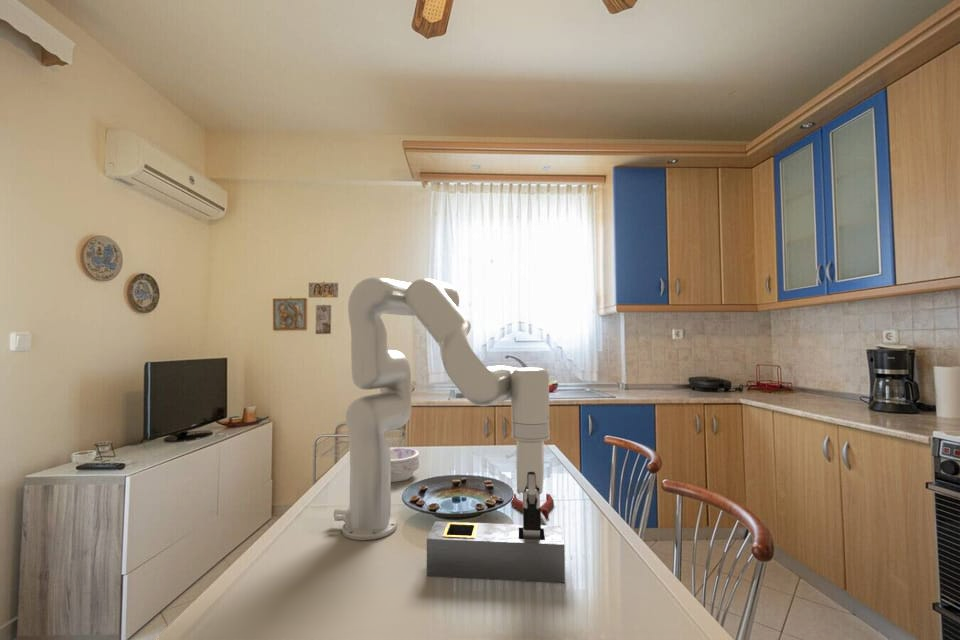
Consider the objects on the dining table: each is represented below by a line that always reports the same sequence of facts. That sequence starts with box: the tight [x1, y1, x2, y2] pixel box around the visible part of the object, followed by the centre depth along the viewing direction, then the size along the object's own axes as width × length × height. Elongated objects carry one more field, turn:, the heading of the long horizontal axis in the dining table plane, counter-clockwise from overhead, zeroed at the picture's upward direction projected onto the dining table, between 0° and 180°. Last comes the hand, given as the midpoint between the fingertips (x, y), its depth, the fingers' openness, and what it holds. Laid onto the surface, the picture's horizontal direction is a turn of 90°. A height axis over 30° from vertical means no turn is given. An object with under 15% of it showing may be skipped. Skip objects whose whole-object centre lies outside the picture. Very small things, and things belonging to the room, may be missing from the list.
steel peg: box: [522, 489, 541, 540], centre depth 85 cm, size 3×3×13 cm
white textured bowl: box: [390, 447, 421, 483], centre depth 141 cm, size 15×15×8 cm
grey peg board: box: [426, 520, 566, 584], centre depth 85 cm, size 26×8×7 cm, turn 84°
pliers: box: [511, 493, 555, 526], centre depth 111 cm, size 12×20×3 cm, turn 1°
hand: (531, 519), depth 85 cm, fingers open, 8 cm apart
